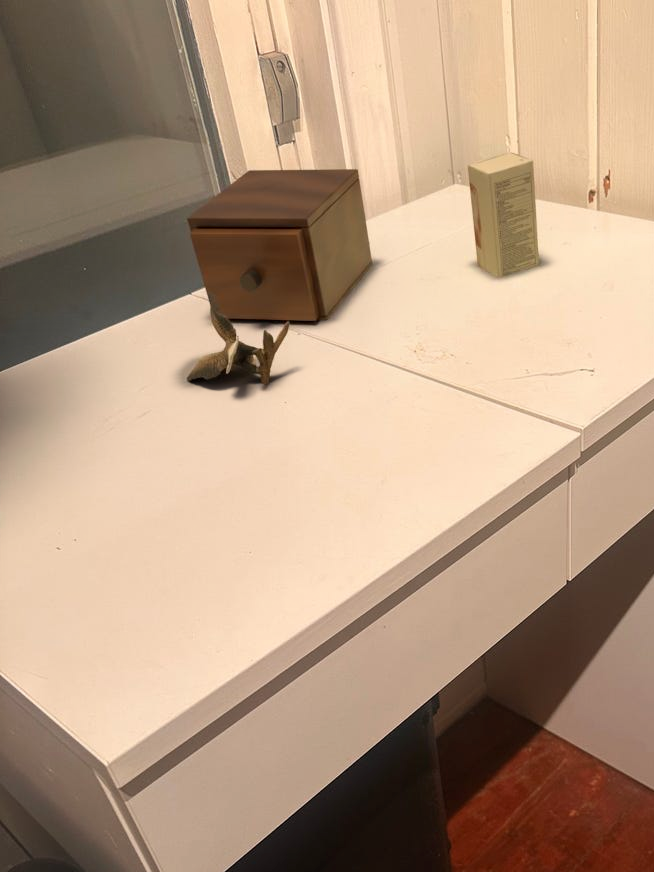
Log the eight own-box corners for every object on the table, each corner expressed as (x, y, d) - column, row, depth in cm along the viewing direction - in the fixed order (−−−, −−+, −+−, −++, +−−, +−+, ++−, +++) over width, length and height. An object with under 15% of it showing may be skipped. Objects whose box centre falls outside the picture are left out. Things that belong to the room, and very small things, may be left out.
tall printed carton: (517, 256, 94) (512, 150, 87) (540, 269, 91) (537, 159, 84) (473, 270, 92) (465, 162, 86) (496, 283, 90) (489, 172, 83)
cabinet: (327, 325, 85) (306, 218, 79) (215, 321, 88) (186, 218, 81) (373, 268, 95) (358, 168, 88) (271, 266, 97) (248, 170, 91)
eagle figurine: (308, 347, 79) (226, 315, 82) (275, 300, 73) (186, 266, 75) (267, 423, 79) (184, 388, 81) (229, 382, 72) (141, 345, 74)
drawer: (310, 326, 83) (292, 239, 78) (207, 323, 86) (183, 238, 80) (359, 268, 93) (345, 186, 87) (265, 266, 95) (247, 187, 90)
